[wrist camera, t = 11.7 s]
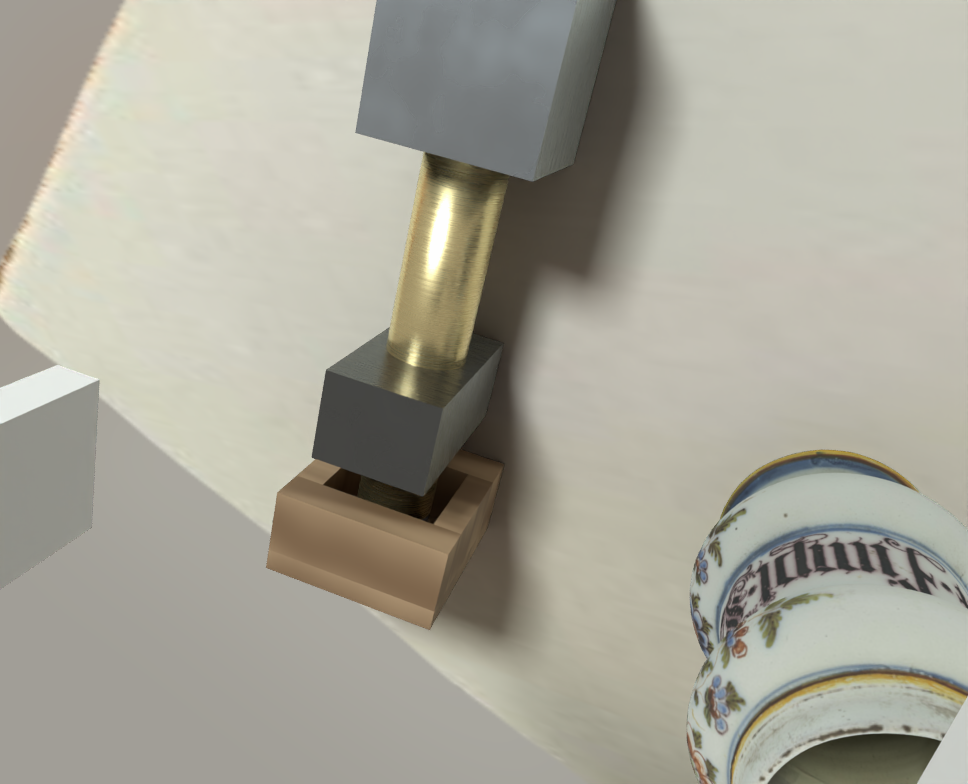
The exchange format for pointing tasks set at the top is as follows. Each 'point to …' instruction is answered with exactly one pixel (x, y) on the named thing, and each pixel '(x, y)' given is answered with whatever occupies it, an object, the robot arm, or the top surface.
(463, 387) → the tube
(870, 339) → the top surface
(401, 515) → the socket block
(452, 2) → the sleeve
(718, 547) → the apothecary jar
